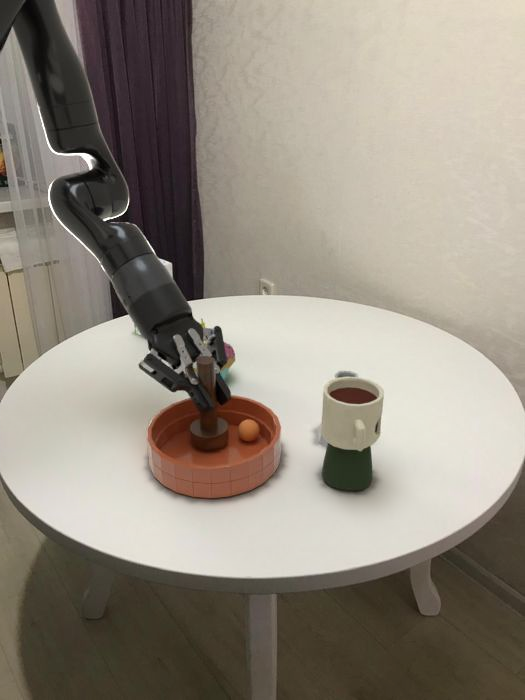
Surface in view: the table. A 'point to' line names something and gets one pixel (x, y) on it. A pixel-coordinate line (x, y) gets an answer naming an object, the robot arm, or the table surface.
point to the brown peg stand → (209, 427)
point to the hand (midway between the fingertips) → (218, 406)
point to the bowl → (213, 450)
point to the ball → (248, 430)
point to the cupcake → (229, 355)
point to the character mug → (350, 430)
